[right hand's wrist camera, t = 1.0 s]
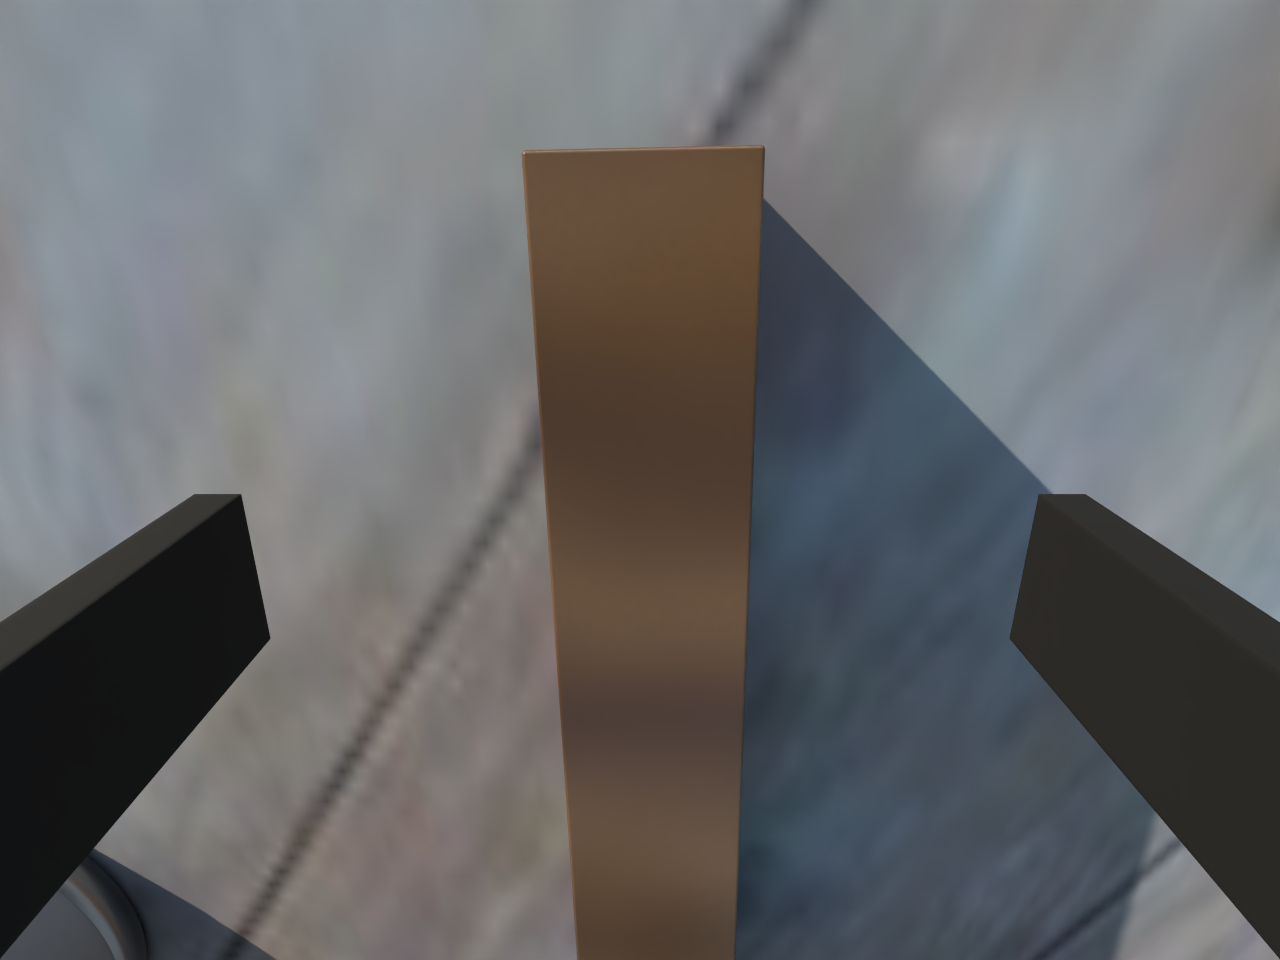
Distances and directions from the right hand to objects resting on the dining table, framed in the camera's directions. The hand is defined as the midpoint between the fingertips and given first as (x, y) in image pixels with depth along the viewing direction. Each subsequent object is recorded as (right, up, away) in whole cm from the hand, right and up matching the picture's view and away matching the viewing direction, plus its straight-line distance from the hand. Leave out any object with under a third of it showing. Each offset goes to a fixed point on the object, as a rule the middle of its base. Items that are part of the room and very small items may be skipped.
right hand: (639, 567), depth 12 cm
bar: (+1, -28, +25) cm, 37 cm away
